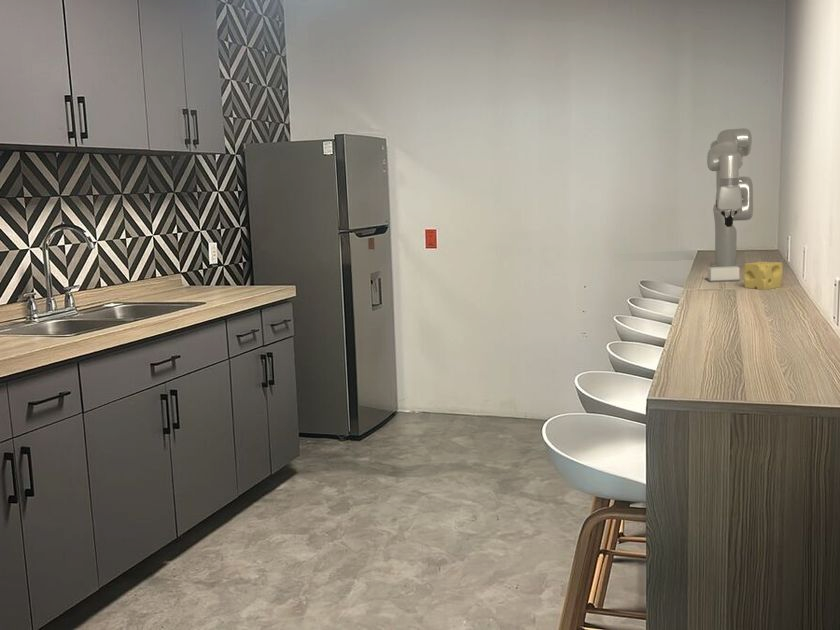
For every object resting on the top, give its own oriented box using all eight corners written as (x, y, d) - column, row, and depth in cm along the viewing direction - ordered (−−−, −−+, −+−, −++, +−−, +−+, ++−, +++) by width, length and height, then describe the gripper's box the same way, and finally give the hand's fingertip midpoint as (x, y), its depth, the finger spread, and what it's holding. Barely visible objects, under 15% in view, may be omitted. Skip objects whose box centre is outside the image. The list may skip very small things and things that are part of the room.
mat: (704, 279, 370) (704, 278, 369) (733, 278, 368) (733, 277, 368) (710, 282, 360) (710, 281, 360) (739, 281, 358) (739, 280, 358)
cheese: (764, 290, 331) (764, 264, 330) (742, 287, 341) (742, 263, 339) (782, 287, 336) (783, 262, 334) (760, 284, 345) (761, 260, 344)
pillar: (736, 277, 366) (708, 278, 367) (737, 266, 365) (708, 267, 366) (739, 279, 361) (710, 280, 362) (740, 267, 360) (710, 268, 361)
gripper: (744, 181, 360) (744, 225, 363) (708, 183, 361) (708, 226, 364) (749, 182, 352) (749, 226, 355) (712, 184, 354) (712, 228, 357)
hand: (728, 226), depth 360 cm, fingers closed
